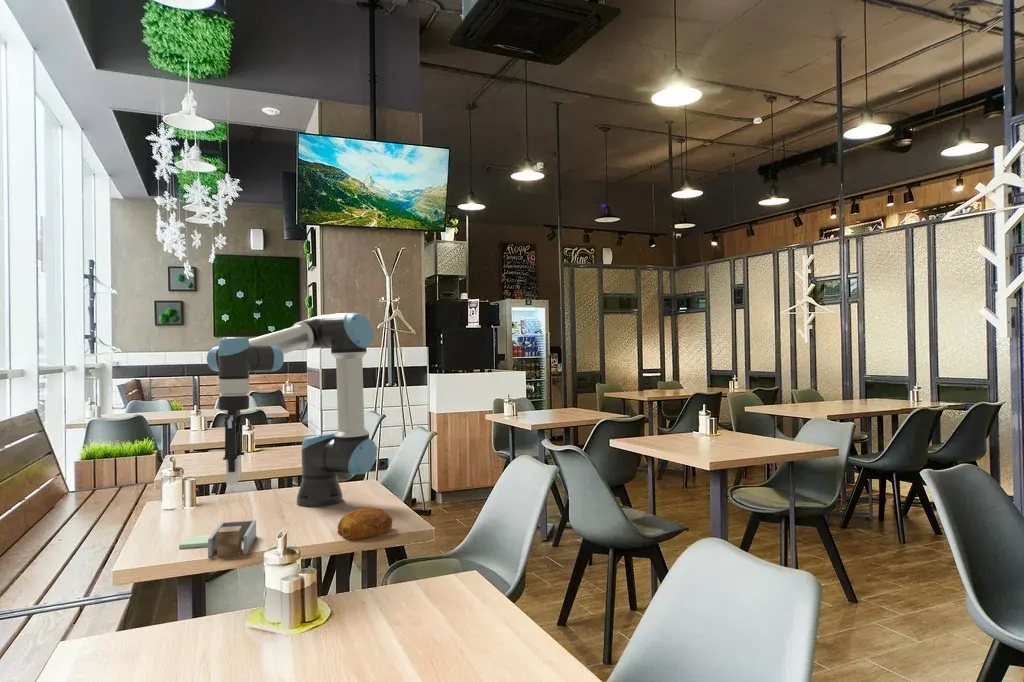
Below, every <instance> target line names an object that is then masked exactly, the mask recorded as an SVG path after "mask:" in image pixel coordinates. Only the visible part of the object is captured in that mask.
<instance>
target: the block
mask: <svg viewBox="0 0 1024 682" xmlns="http://www.w3.org/2000/svg"><path fill="white" fill-rule="evenodd" d="M242 543H243V538H242V526H232V527H221V528H220V529H219V531H218V532H217V550H216V551H217V554H216V556H217V557H220V556H233V555H234V556H235V554H236V555H240V553H239V552H242V549H243V544H242Z"/></svg>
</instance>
